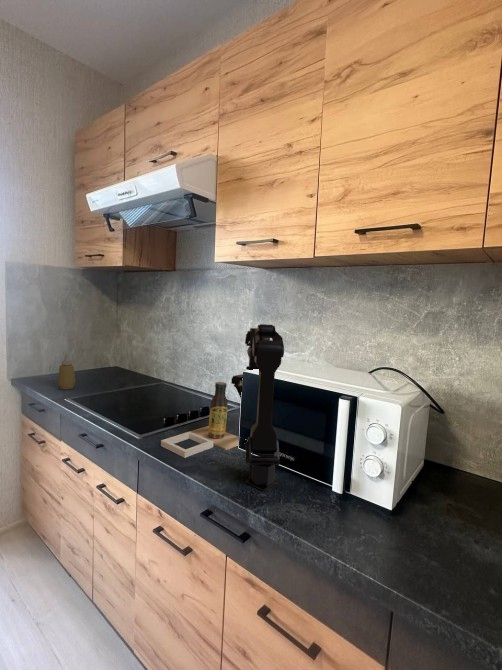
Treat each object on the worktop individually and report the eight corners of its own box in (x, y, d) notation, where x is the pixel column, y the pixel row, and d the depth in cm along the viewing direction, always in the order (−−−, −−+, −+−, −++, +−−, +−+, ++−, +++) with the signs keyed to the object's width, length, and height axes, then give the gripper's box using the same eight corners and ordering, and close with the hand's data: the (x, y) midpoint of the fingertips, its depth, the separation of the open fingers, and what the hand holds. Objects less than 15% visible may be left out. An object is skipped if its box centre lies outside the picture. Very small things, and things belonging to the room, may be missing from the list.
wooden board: (247, 441, 128) (247, 440, 128) (225, 450, 120) (226, 448, 120) (208, 427, 141) (208, 425, 141) (187, 433, 133) (187, 432, 133)
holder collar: (213, 447, 122) (213, 441, 122) (184, 457, 113) (184, 451, 112) (189, 436, 130) (189, 431, 130) (160, 446, 120) (161, 440, 120)
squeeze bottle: (76, 386, 191) (76, 353, 189) (73, 390, 183) (74, 355, 182) (59, 386, 188) (59, 352, 187) (56, 390, 181) (56, 355, 179)
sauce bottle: (209, 440, 126) (212, 385, 125) (206, 433, 132) (209, 381, 131) (227, 439, 128) (230, 384, 126) (224, 432, 134) (226, 380, 132)
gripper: (292, 365, 125) (289, 409, 127) (251, 358, 137) (248, 397, 138) (273, 369, 117) (270, 415, 118) (231, 360, 128) (229, 403, 130)
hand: (254, 407), depth 126 cm, fingers open, 9 cm apart
